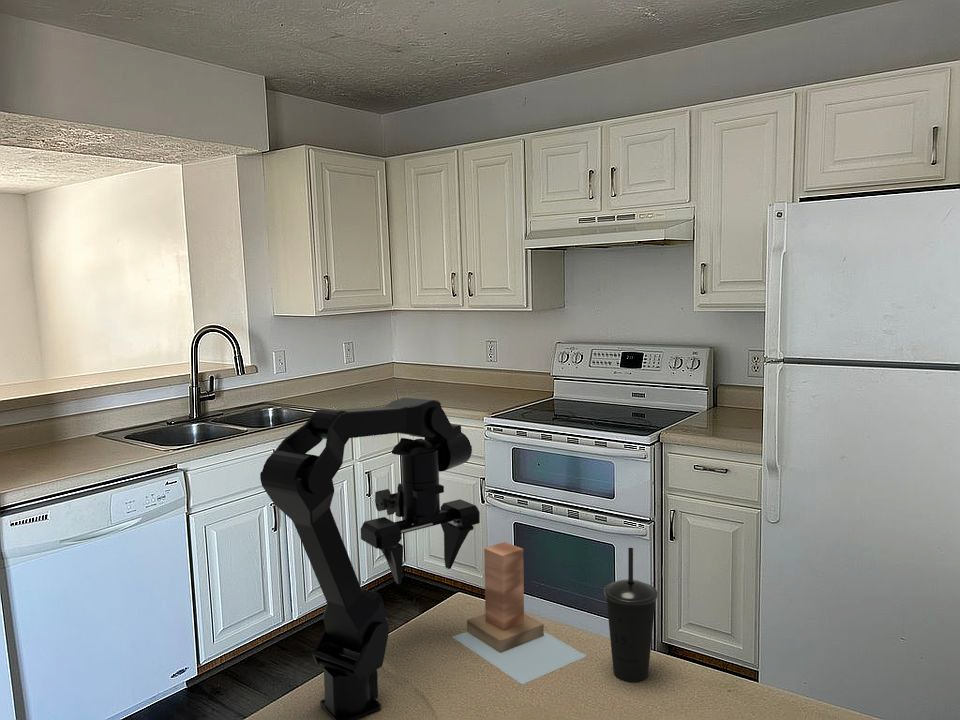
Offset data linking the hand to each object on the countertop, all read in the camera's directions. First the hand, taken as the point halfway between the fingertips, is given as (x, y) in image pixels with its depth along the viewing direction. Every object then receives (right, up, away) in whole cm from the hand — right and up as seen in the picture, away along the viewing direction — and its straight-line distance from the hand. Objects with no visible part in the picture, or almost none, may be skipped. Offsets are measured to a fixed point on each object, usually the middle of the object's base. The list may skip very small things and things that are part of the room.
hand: (423, 575), depth 113 cm
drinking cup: (+31, -14, -7) cm, 35 cm away
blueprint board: (+15, -13, +1) cm, 20 cm away
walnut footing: (+13, -11, +6) cm, 18 cm away
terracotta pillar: (+13, -9, +5) cm, 17 cm away
